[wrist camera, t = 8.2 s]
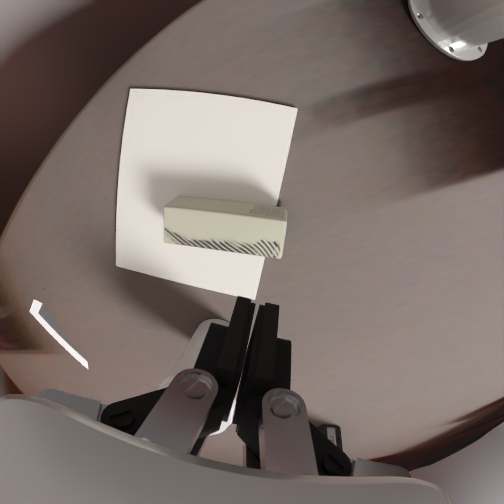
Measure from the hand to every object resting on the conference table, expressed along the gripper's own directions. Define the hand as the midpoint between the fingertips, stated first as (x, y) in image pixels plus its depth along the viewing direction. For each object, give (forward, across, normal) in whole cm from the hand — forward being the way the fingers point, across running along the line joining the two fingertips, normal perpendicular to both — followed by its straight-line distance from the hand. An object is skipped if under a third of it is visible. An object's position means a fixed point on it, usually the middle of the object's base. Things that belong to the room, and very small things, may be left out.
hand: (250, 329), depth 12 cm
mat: (+24, +10, +2) cm, 26 cm away
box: (+20, -2, +3) cm, 21 cm away
